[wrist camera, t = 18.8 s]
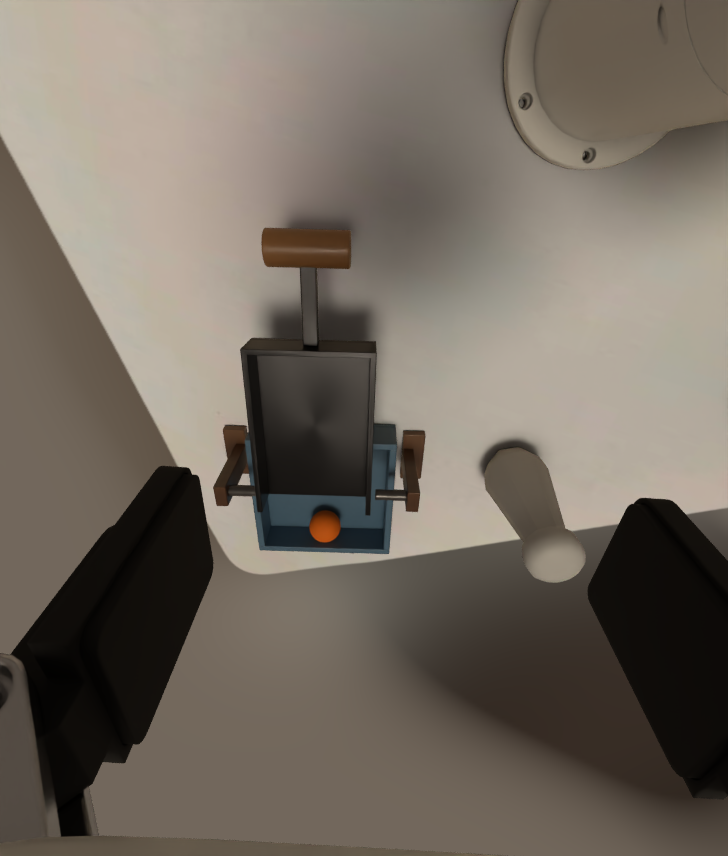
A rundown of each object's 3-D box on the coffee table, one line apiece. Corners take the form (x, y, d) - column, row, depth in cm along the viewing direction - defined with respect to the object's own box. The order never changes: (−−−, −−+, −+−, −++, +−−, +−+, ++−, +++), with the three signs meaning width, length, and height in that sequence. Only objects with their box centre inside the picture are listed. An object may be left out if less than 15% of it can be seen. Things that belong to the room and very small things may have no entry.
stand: (224, 425, 40) (197, 471, 34) (424, 431, 40) (434, 478, 34) (232, 468, 43) (207, 519, 36) (419, 474, 43) (428, 525, 36)
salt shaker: (467, 474, 43) (501, 579, 31) (502, 430, 40) (552, 527, 29) (515, 495, 44) (564, 604, 33) (551, 454, 41) (619, 556, 30)
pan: (241, 226, 27) (227, 227, 24) (380, 230, 27) (380, 231, 24) (265, 491, 36) (257, 512, 33) (370, 494, 36) (370, 515, 33)
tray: (253, 420, 40) (244, 440, 37) (395, 424, 40) (397, 444, 37) (266, 526, 47) (259, 550, 44) (388, 529, 47) (389, 554, 43)
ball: (307, 548, 43) (311, 527, 46) (339, 549, 43) (341, 528, 46) (306, 523, 41) (310, 503, 44) (339, 524, 41) (341, 504, 44)
